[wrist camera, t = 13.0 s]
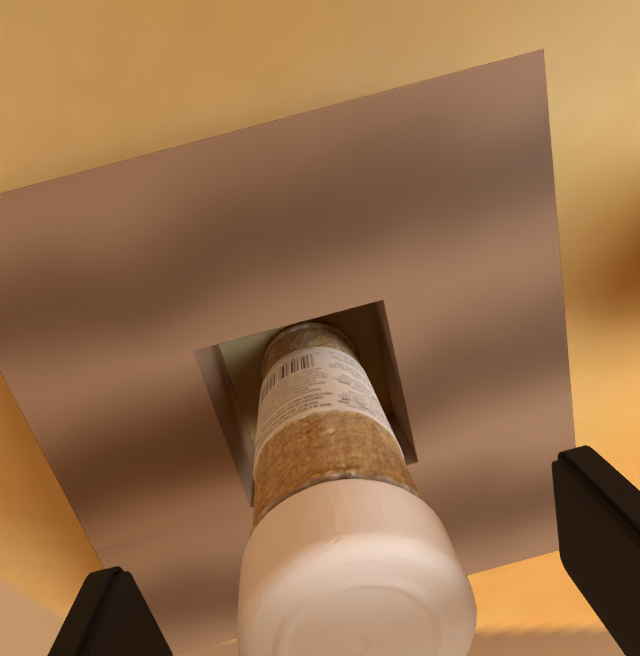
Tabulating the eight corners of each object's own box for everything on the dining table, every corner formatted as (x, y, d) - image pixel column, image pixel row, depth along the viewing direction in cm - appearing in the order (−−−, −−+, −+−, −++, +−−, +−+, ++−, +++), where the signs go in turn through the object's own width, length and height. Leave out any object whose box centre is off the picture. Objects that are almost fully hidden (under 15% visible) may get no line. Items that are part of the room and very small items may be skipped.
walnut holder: (-5, 208, 18) (-82, 215, 14) (486, 78, 18) (543, 49, 14) (172, 585, 24) (152, 660, 20) (535, 486, 24) (583, 543, 20)
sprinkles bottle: (284, 423, 22) (292, 765, 9) (245, 340, 20) (187, 607, 7) (373, 388, 22) (511, 686, 9) (340, 302, 20) (446, 508, 7)
